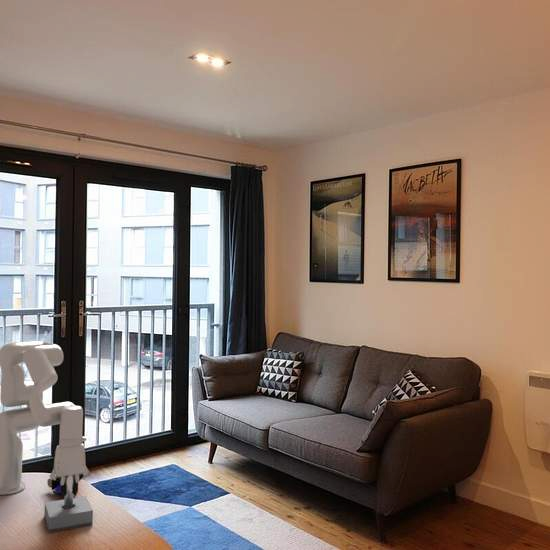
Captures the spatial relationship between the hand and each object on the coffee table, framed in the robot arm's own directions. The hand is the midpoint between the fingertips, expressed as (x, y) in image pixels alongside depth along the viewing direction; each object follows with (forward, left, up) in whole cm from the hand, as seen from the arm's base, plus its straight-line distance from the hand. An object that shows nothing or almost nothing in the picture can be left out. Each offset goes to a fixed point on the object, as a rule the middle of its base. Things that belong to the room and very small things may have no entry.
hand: (69, 493), depth 192 cm
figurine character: (-26, +2, -10) cm, 28 cm away
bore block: (0, 0, -9) cm, 9 cm away
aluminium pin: (0, 0, -3) cm, 3 cm away
